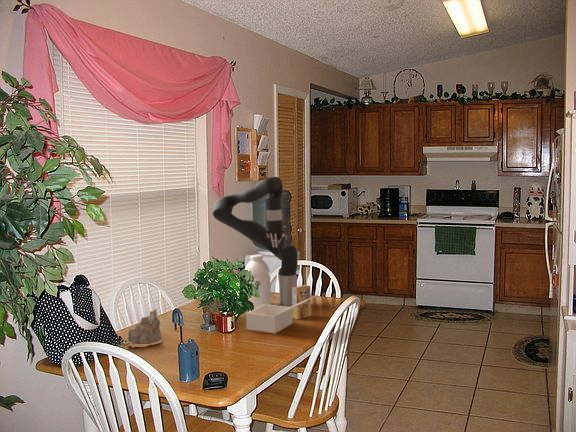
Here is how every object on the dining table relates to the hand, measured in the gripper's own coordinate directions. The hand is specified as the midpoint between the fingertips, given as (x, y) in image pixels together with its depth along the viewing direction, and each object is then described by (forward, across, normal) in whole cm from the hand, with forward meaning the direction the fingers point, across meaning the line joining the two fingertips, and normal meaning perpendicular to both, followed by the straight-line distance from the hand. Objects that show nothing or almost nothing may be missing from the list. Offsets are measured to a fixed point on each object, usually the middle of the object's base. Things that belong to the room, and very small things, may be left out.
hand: (276, 254), depth 279 cm
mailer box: (+32, +1, -12) cm, 34 cm away
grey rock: (+30, -36, -54) cm, 72 cm away
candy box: (+33, +7, +9) cm, 35 cm away
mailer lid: (+24, +9, -11) cm, 28 cm away
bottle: (+33, -23, +15) cm, 43 cm away
